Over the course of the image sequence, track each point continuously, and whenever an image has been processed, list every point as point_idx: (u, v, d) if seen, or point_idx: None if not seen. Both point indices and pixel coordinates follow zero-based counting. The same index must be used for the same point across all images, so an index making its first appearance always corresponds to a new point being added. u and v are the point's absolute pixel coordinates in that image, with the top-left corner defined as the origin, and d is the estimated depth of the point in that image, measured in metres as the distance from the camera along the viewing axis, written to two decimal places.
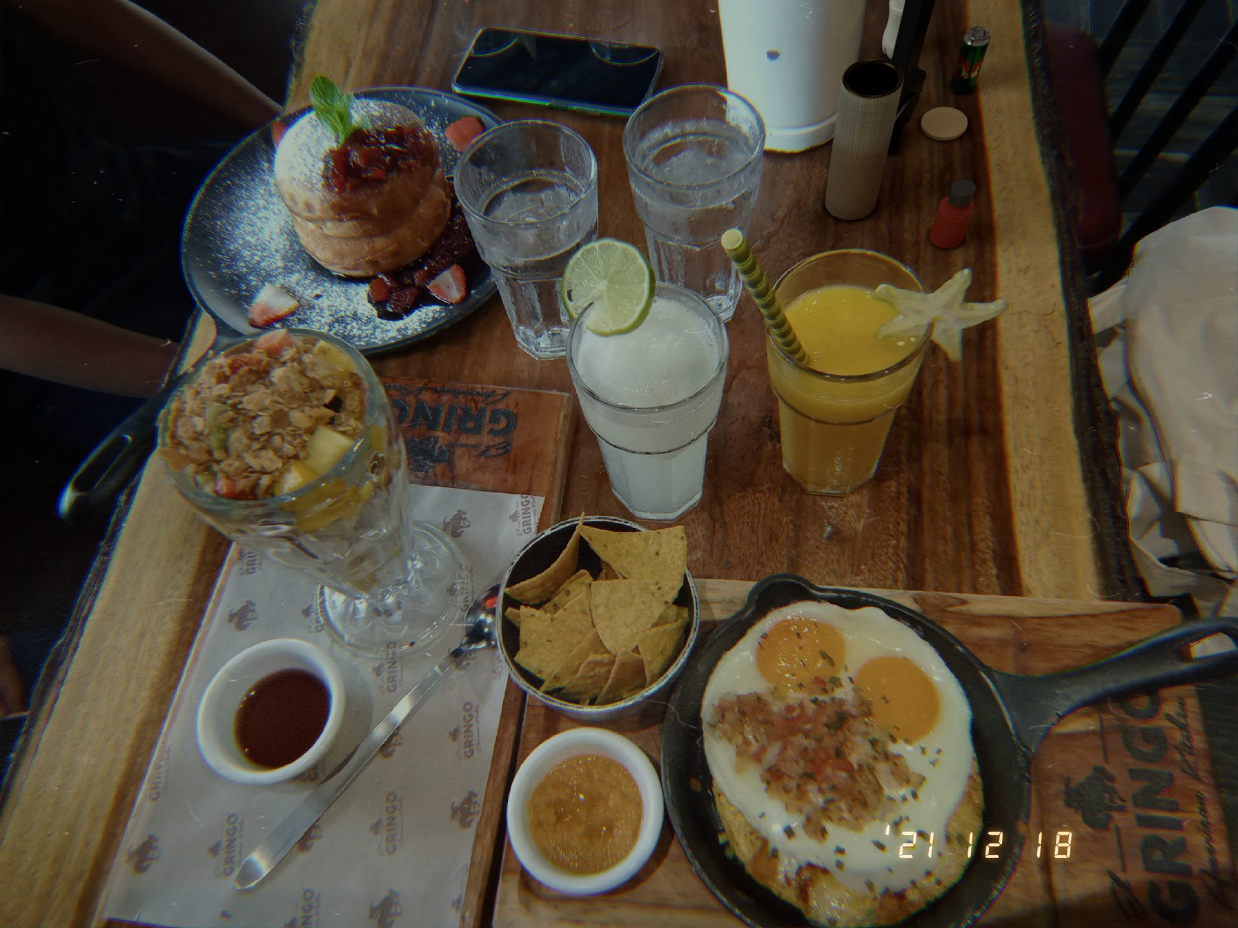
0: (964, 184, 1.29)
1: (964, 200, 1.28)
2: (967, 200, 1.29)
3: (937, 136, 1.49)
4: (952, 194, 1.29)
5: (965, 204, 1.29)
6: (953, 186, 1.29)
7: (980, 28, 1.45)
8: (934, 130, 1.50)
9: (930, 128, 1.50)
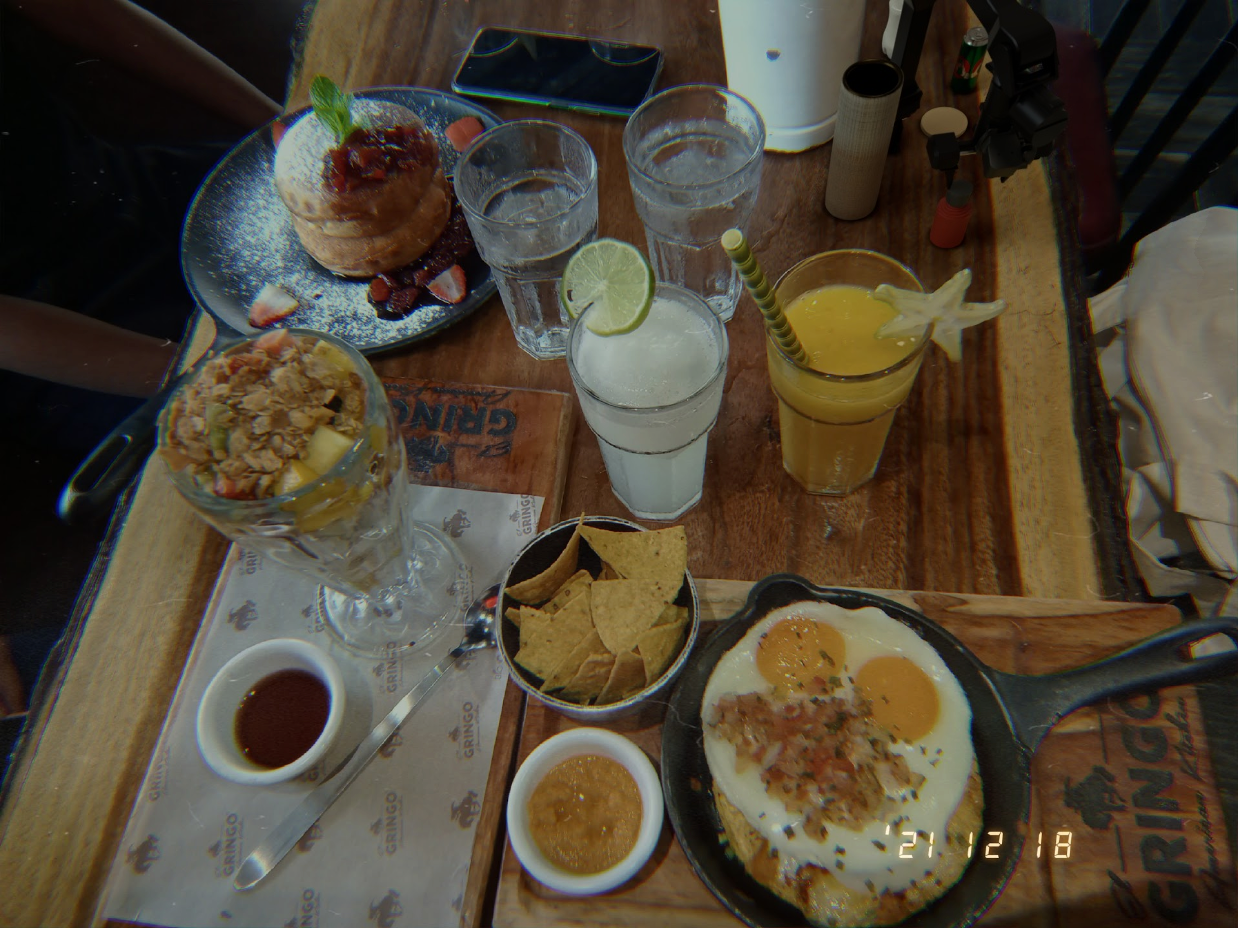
0: (961, 184, 1.28)
1: (962, 200, 1.28)
2: (965, 200, 1.29)
3: None
4: (949, 194, 1.29)
5: (963, 204, 1.29)
6: None
7: (980, 28, 1.45)
8: (934, 130, 1.50)
9: (930, 128, 1.50)
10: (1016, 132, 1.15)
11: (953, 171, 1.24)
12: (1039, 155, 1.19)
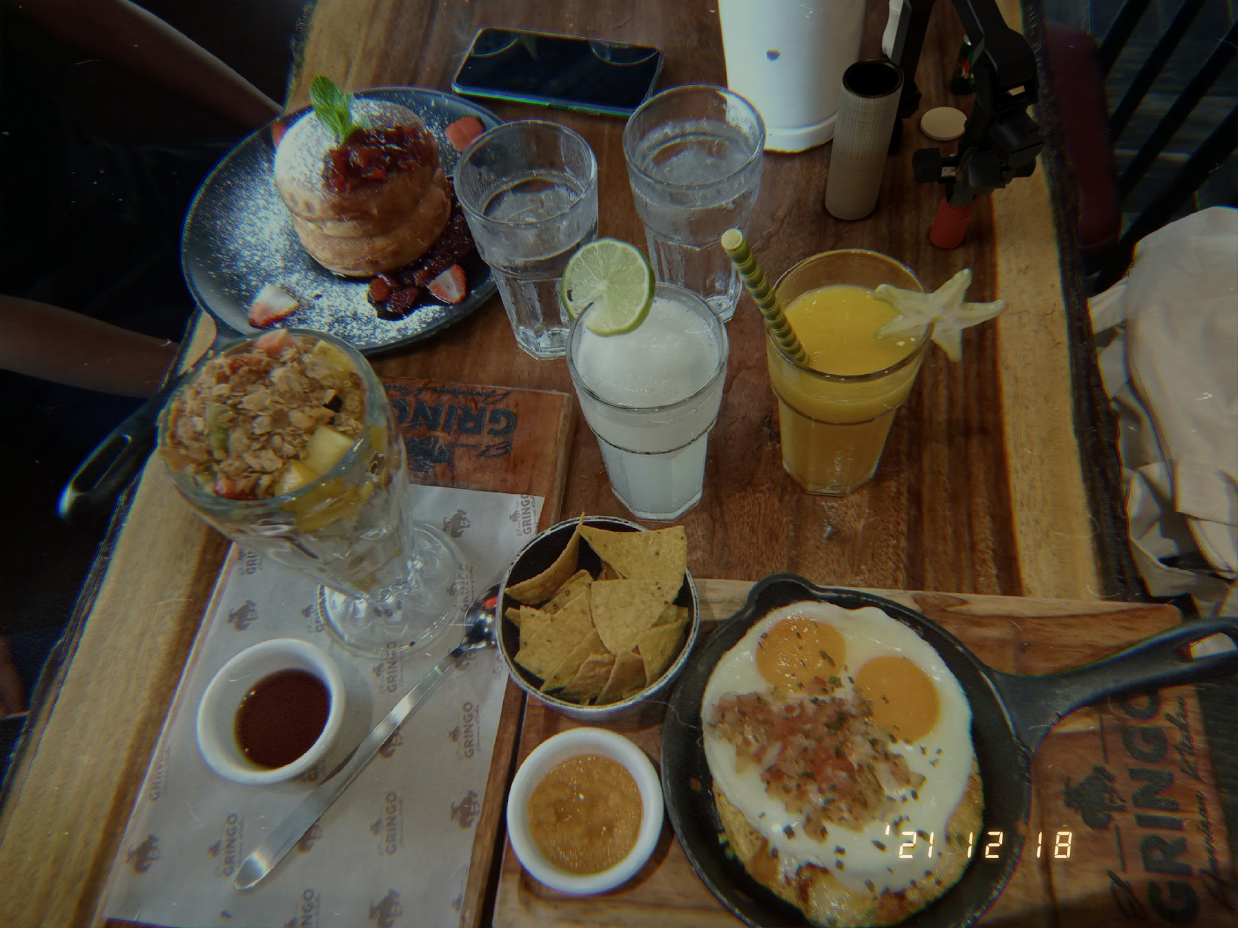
0: None
1: (964, 200, 1.28)
2: (967, 200, 1.29)
3: (937, 136, 1.49)
4: (952, 194, 1.29)
5: (965, 204, 1.29)
6: None
7: None
8: (934, 130, 1.50)
9: (930, 128, 1.50)
10: (997, 152, 1.18)
11: (952, 185, 1.26)
12: (1020, 175, 1.21)
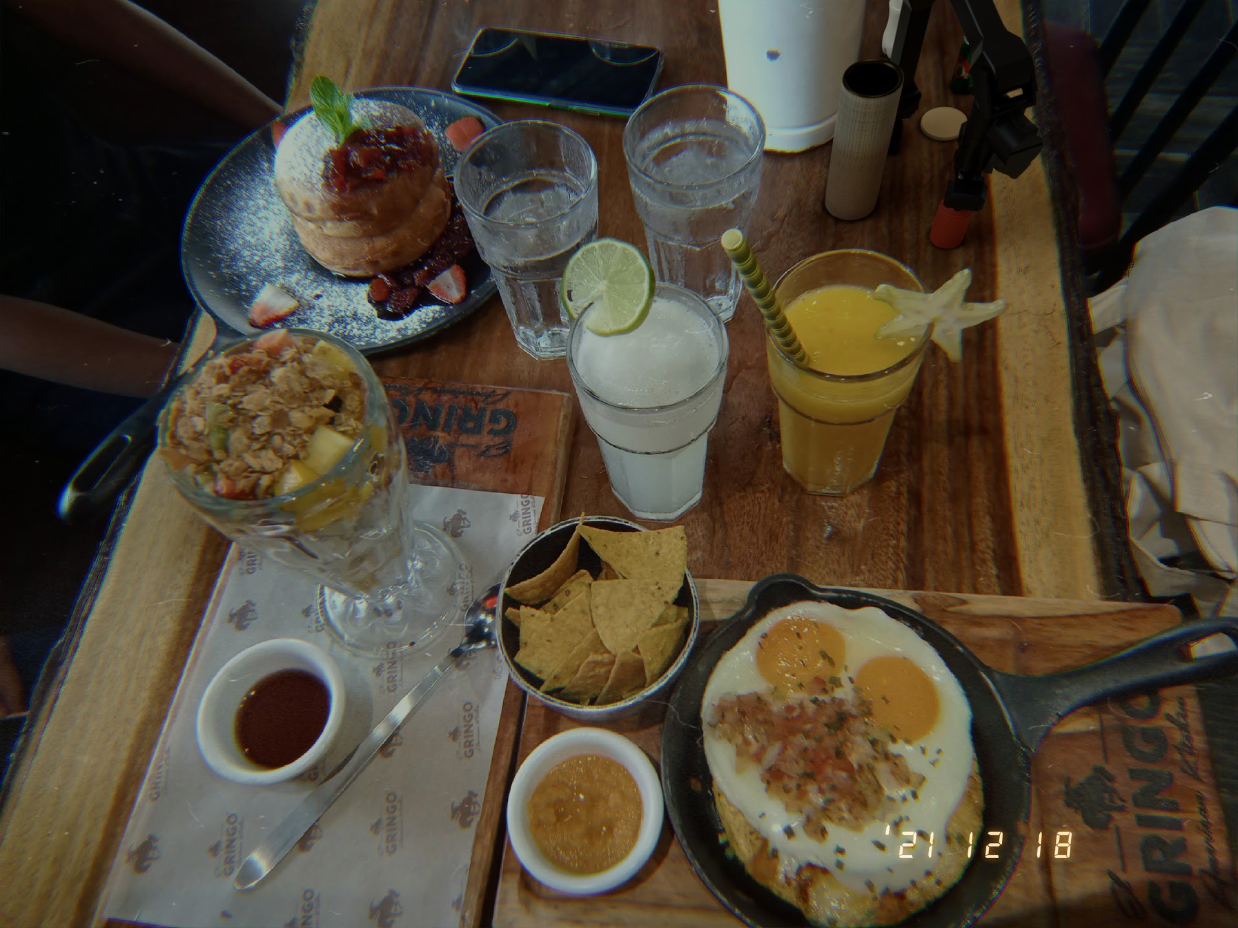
0: None
1: None
2: None
3: (937, 136, 1.49)
4: None
5: None
6: None
7: None
8: (934, 130, 1.50)
9: (930, 128, 1.50)
10: None
11: None
12: None
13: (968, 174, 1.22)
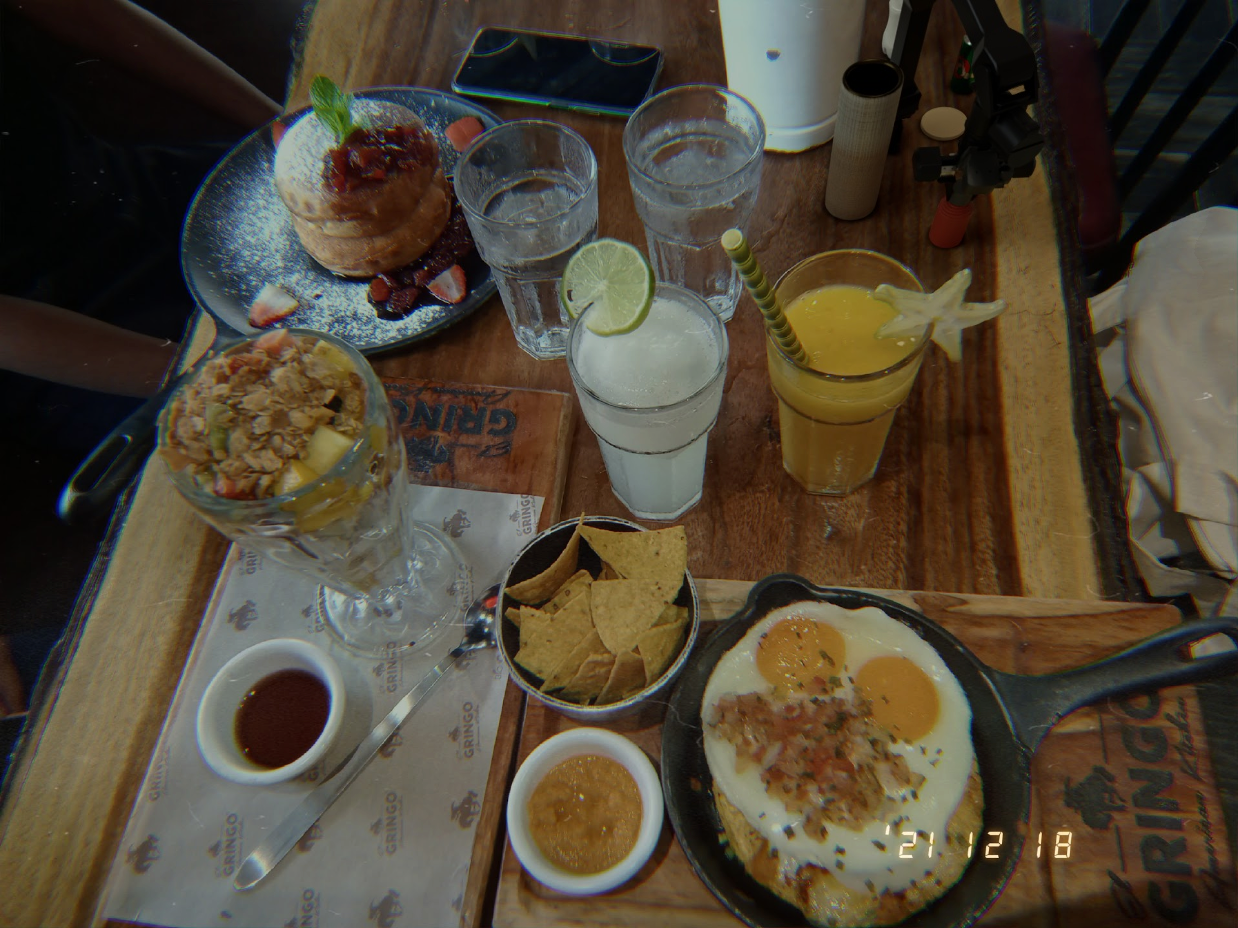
0: (960, 188, 1.28)
1: None
2: None
3: (937, 136, 1.49)
4: None
5: None
6: None
7: None
8: (934, 130, 1.50)
9: (930, 128, 1.50)
10: (996, 151, 1.17)
11: (952, 184, 1.26)
12: (1020, 176, 1.21)
13: (951, 156, 1.23)
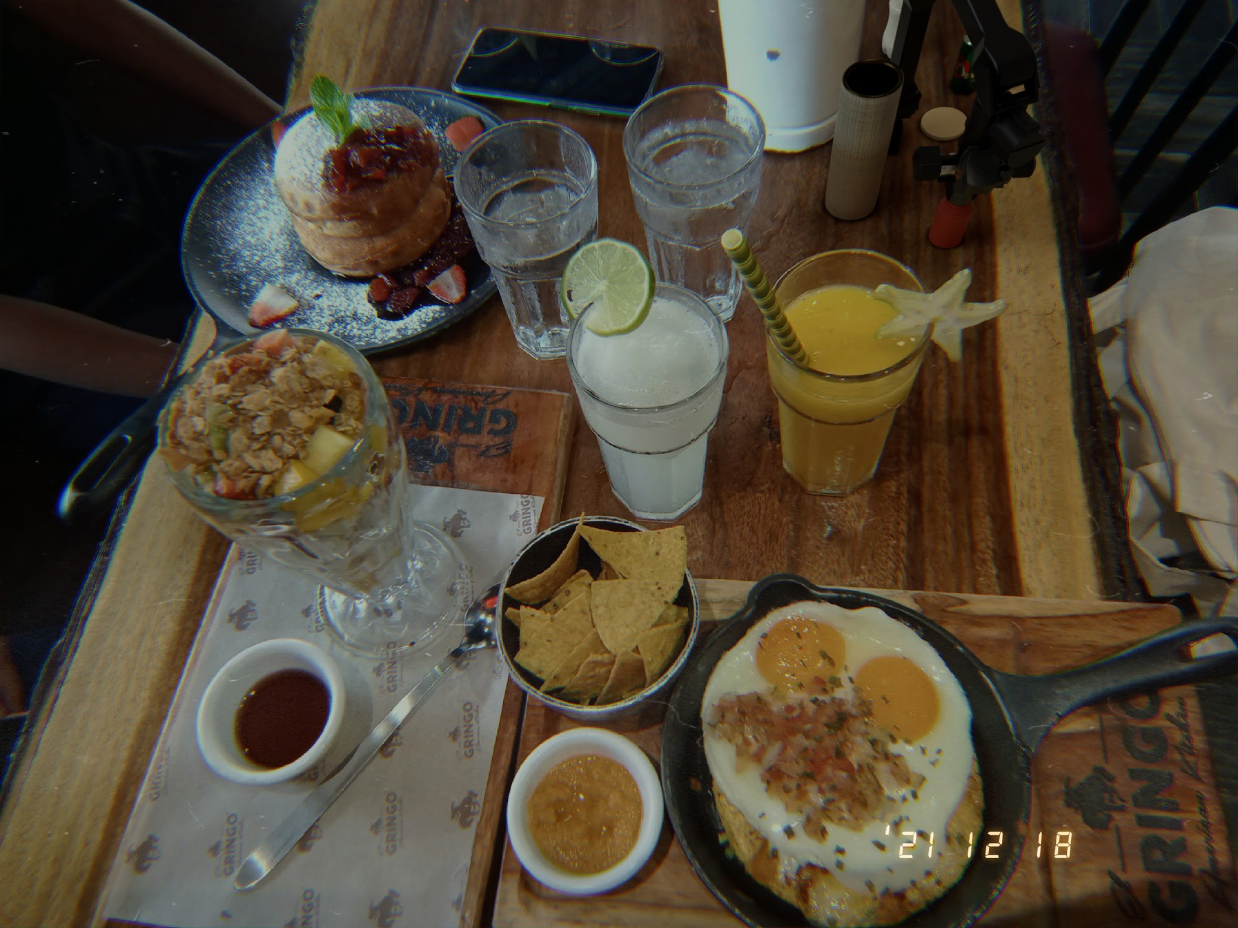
0: None
1: None
2: None
3: (937, 136, 1.49)
4: None
5: None
6: None
7: None
8: (934, 130, 1.50)
9: (930, 128, 1.50)
10: (996, 151, 1.17)
11: (952, 183, 1.26)
12: (1020, 176, 1.21)
13: (951, 155, 1.23)
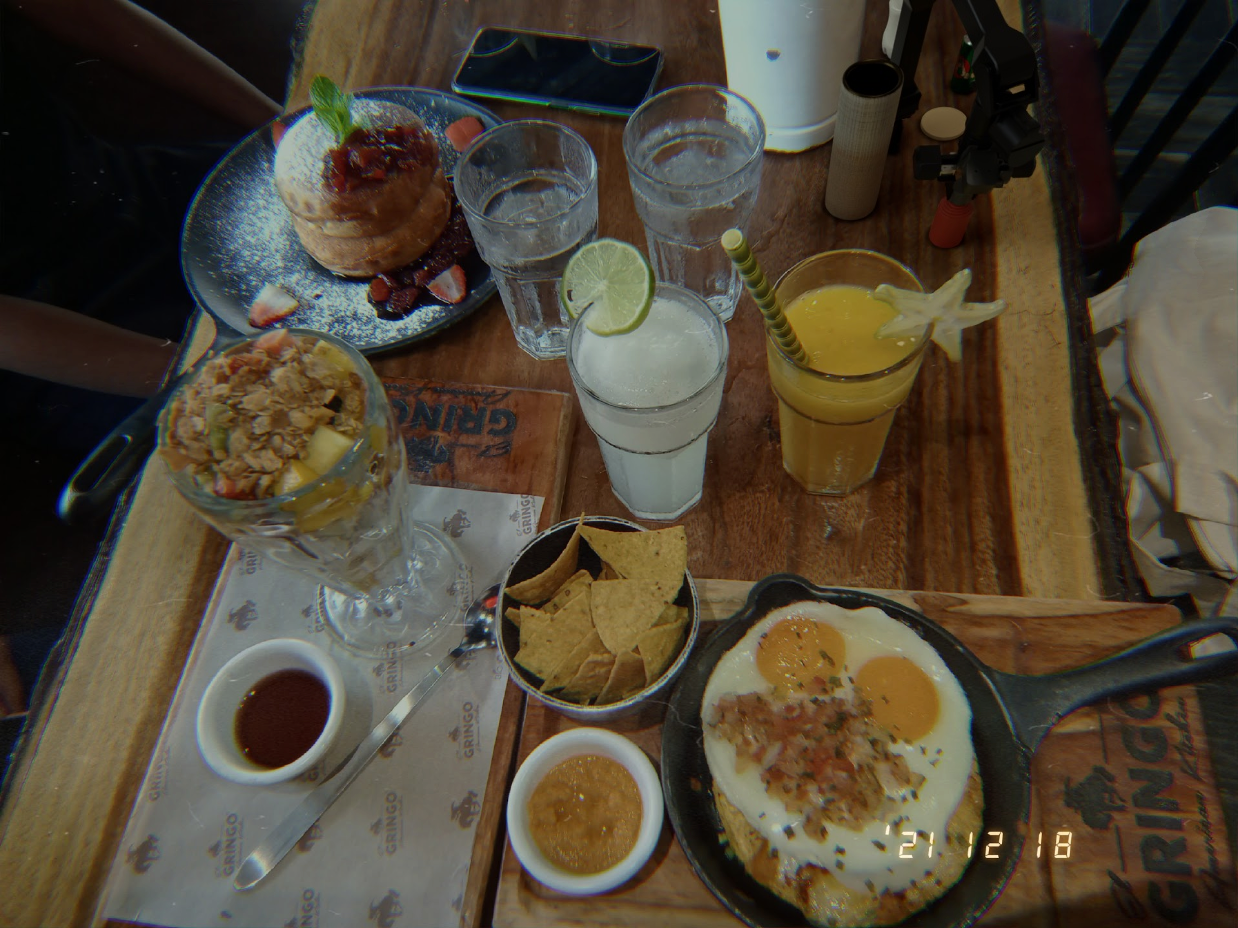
0: None
1: (953, 195, 1.29)
2: (955, 198, 1.29)
3: (937, 136, 1.49)
4: None
5: (953, 201, 1.30)
6: (960, 179, 1.29)
7: None
8: (934, 130, 1.50)
9: (930, 128, 1.50)
10: (996, 151, 1.17)
11: (952, 183, 1.26)
12: (1020, 176, 1.21)
13: (951, 155, 1.23)
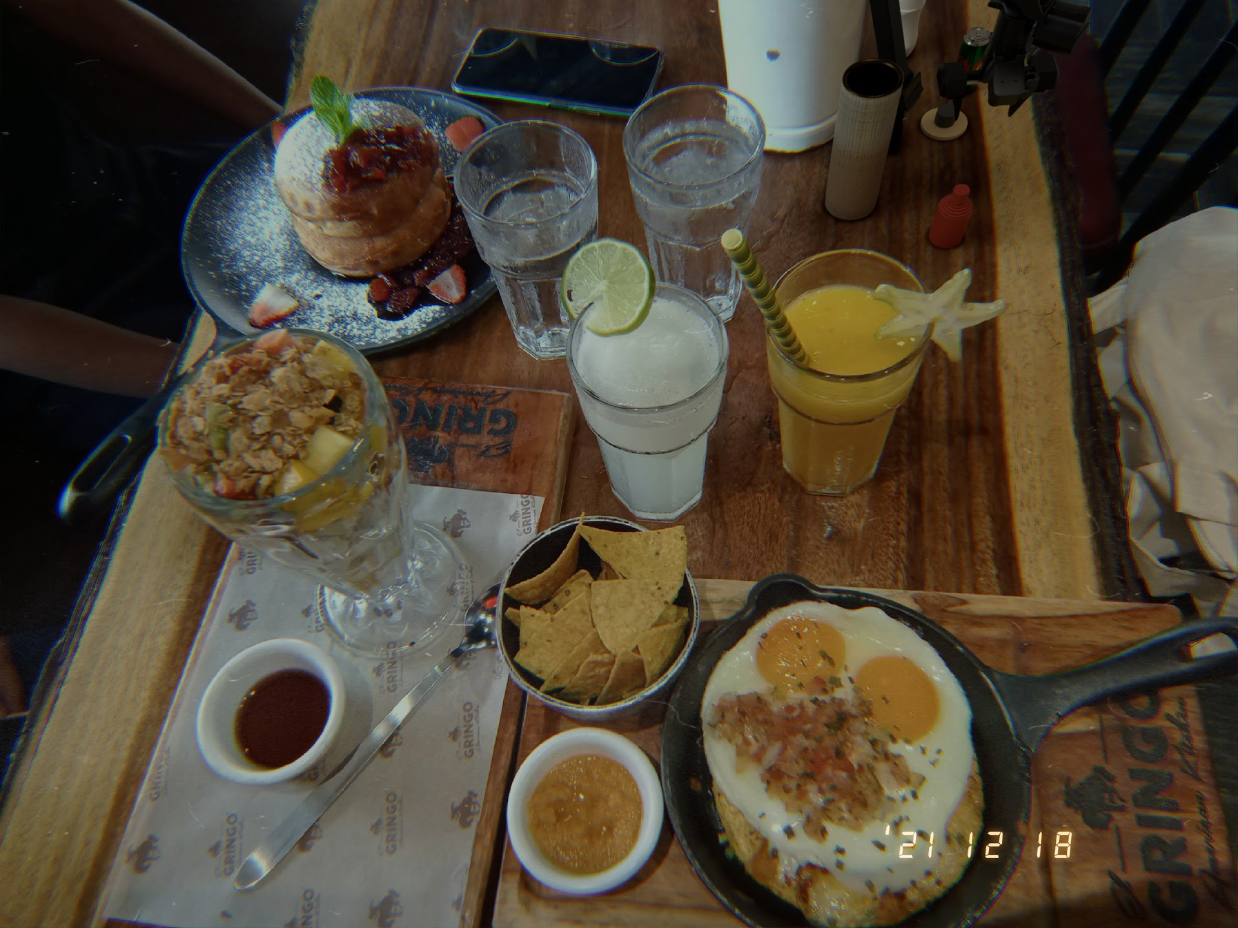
0: (947, 107, 1.49)
1: (950, 121, 1.48)
2: (953, 120, 1.49)
3: (937, 136, 1.49)
4: (939, 118, 1.49)
5: (951, 124, 1.49)
6: (938, 111, 1.49)
7: (980, 28, 1.45)
8: (934, 130, 1.50)
9: (930, 128, 1.50)
10: (1021, 61, 1.20)
11: (960, 101, 1.29)
12: (1044, 87, 1.24)
13: (976, 70, 1.26)
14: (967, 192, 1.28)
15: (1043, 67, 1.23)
